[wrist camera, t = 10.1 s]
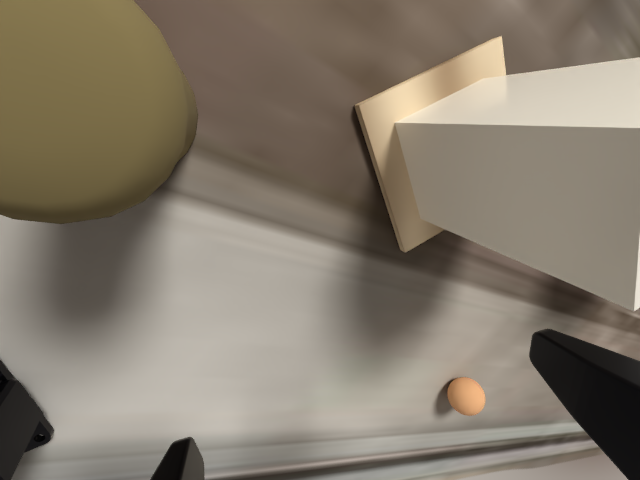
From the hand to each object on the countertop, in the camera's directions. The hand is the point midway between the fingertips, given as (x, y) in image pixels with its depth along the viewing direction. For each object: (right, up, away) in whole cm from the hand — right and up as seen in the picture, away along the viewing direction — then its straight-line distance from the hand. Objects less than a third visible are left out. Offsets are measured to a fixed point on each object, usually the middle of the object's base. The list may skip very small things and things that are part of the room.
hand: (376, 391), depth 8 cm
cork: (-10, +10, +7) cm, 16 cm away
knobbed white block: (+7, +9, +13) cm, 17 cm away
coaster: (+7, +10, +13) cm, 18 cm away
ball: (+11, -9, +22) cm, 26 cm away
